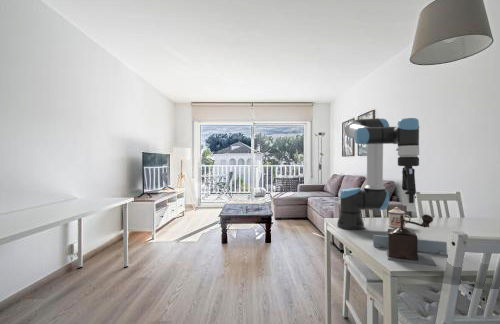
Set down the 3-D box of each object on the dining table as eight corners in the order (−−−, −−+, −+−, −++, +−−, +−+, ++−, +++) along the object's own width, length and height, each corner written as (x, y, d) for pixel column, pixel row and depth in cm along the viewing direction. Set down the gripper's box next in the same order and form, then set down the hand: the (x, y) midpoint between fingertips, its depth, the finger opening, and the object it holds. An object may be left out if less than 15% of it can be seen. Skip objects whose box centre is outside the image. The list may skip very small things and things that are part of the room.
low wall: (373, 244, 125) (373, 234, 125) (445, 252, 114) (445, 240, 114) (373, 247, 122) (373, 236, 122) (447, 255, 110) (447, 243, 110)
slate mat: (386, 250, 117) (386, 249, 117) (429, 255, 110) (429, 254, 110) (388, 259, 106) (388, 258, 106) (436, 265, 99) (436, 264, 99)
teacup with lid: (390, 228, 157) (389, 208, 157) (386, 224, 165) (386, 205, 165) (413, 229, 153) (412, 209, 153) (408, 225, 162) (408, 206, 162)
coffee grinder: (388, 257, 106) (387, 212, 106) (387, 249, 116) (387, 208, 116) (434, 263, 100) (434, 216, 100) (429, 254, 110) (429, 211, 110)
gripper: (394, 156, 121) (395, 203, 121) (401, 156, 98) (401, 213, 98) (414, 156, 118) (414, 204, 118) (425, 156, 95) (425, 214, 95)
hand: (408, 208), depth 108 cm, fingers open, 13 cm apart
